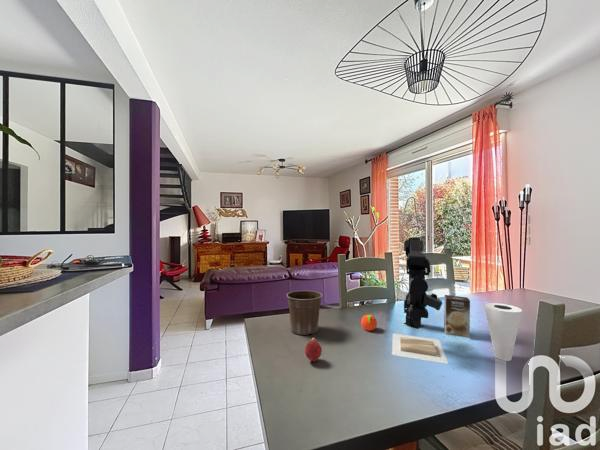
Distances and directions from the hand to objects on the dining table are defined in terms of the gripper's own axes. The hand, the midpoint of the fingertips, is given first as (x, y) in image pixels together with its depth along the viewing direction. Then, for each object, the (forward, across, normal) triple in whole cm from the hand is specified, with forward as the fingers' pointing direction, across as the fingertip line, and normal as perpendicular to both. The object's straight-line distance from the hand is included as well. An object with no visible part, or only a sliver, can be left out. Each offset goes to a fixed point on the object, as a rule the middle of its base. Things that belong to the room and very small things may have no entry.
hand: (417, 328), depth 101 cm
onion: (+8, -24, +35) cm, 43 cm away
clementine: (+8, +10, +19) cm, 23 cm away
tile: (+6, +3, 0) cm, 7 cm away
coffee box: (+8, +20, -17) cm, 27 cm away
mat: (+8, 0, 0) cm, 8 cm away
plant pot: (+8, +1, +47) cm, 47 cm away
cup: (+8, +3, -28) cm, 29 cm away
